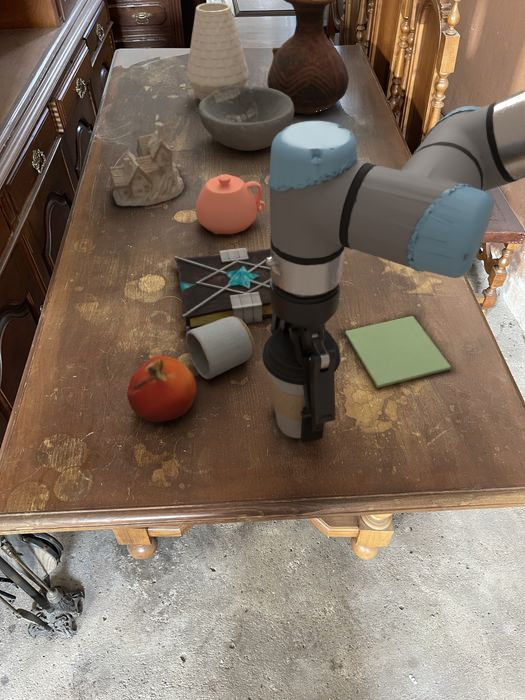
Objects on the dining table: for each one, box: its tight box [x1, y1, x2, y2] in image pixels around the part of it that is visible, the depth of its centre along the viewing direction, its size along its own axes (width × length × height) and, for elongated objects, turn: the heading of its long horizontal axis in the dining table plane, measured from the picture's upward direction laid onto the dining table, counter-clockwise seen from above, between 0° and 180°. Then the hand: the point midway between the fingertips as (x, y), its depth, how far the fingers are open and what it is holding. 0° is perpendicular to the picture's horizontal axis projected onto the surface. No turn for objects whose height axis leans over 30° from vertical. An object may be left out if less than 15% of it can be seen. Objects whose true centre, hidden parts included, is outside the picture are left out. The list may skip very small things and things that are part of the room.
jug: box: [266, 0, 350, 115], centre depth 140 cm, size 22×22×30 cm
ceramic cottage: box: [109, 121, 185, 207], centre depth 115 cm, size 16×16×15 cm
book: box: [174, 247, 273, 333], centre depth 93 cm, size 22×17×5 cm
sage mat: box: [344, 315, 452, 389], centre depth 84 cm, size 12×12×1 cm
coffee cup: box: [261, 327, 341, 439], centre depth 70 cm, size 9×9×15 cm
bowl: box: [197, 85, 295, 151], centre depth 132 cm, size 23×22×10 cm
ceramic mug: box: [185, 316, 255, 380], centre depth 81 cm, size 11×8×8 cm
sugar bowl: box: [195, 173, 266, 235], centre depth 106 cm, size 12×14×10 cm
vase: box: [185, 2, 250, 101], centre depth 146 cm, size 17×17×23 cm
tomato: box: [126, 355, 198, 423], centre depth 74 cm, size 9×9×8 cm
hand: (298, 408), depth 73 cm, fingers open, 9 cm apart
